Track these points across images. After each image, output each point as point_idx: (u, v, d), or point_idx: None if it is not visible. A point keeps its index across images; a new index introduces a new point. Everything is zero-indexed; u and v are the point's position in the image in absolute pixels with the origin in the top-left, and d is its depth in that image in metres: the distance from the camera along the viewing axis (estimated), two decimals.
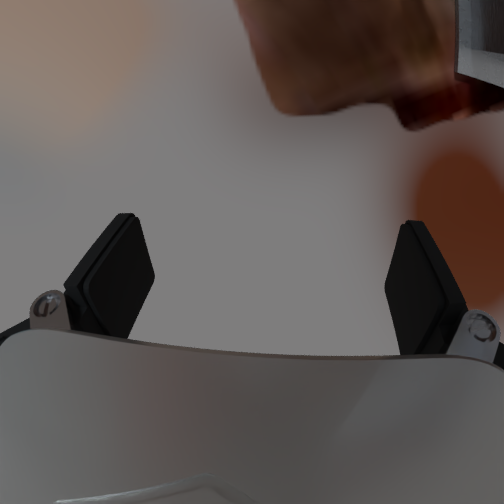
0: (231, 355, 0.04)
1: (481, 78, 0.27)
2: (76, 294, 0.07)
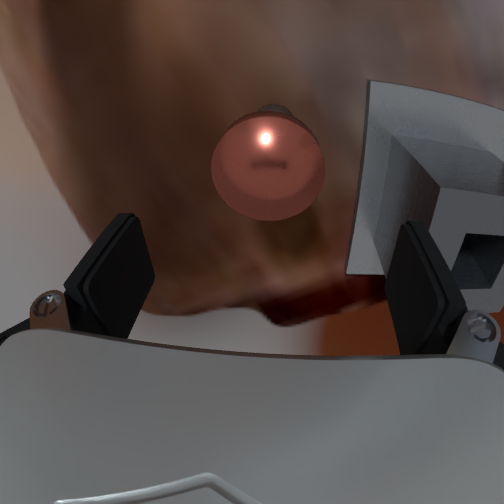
0: (231, 355, 0.04)
1: None
2: (76, 294, 0.07)
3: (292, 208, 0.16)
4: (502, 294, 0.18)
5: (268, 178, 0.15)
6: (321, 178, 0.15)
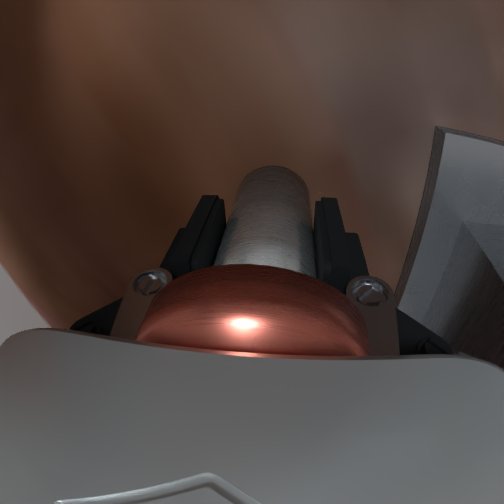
0: (231, 355, 0.04)
1: None
2: (183, 270, 0.08)
3: None
4: None
5: None
6: None
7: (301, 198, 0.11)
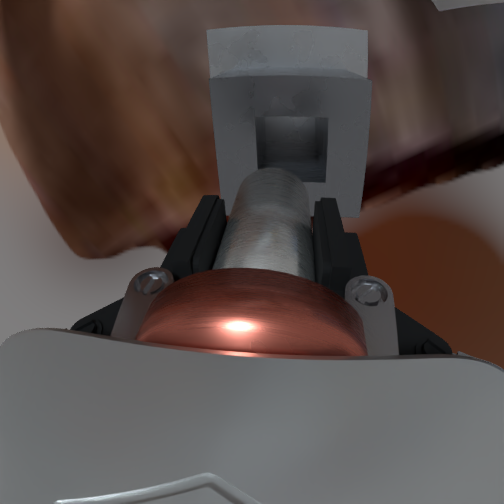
0: (231, 355, 0.04)
1: None
2: (184, 270, 0.08)
3: None
4: (349, 192, 0.21)
5: None
6: None
7: (300, 200, 0.12)
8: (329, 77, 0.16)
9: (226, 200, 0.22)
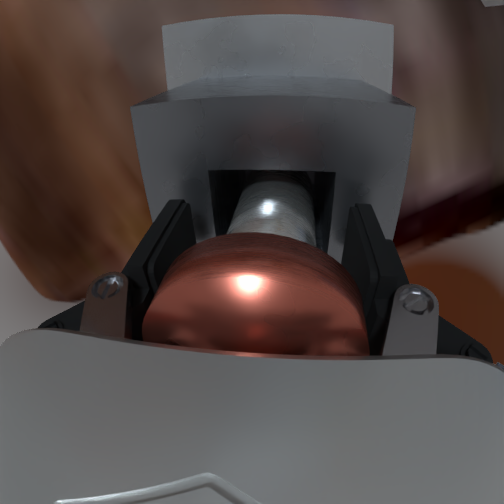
0: (231, 355, 0.04)
1: None
2: (139, 275, 0.08)
3: None
4: None
5: None
6: None
7: (304, 187, 0.12)
8: (340, 99, 0.09)
9: None
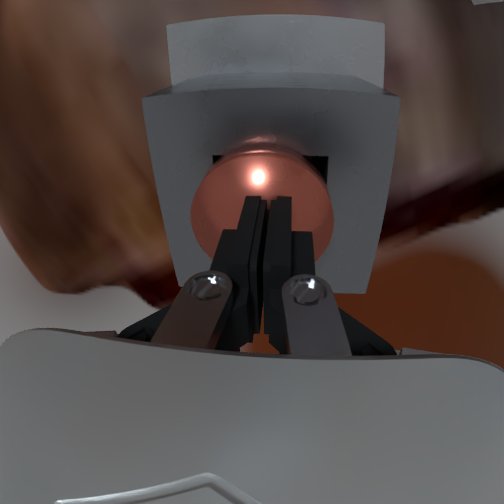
0: (231, 355, 0.04)
1: None
2: (241, 274, 0.08)
3: None
4: (354, 263, 0.15)
5: None
6: (329, 233, 0.12)
7: None
8: (332, 90, 0.10)
9: (181, 269, 0.16)
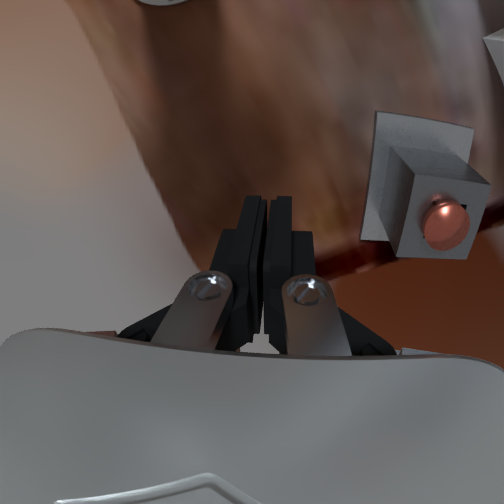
0: (231, 355, 0.04)
1: (388, 239, 0.41)
2: (241, 274, 0.08)
3: (452, 245, 0.29)
4: (465, 245, 0.30)
5: (447, 231, 0.28)
6: (466, 232, 0.27)
7: None
8: (473, 182, 0.25)
9: (401, 248, 0.31)
